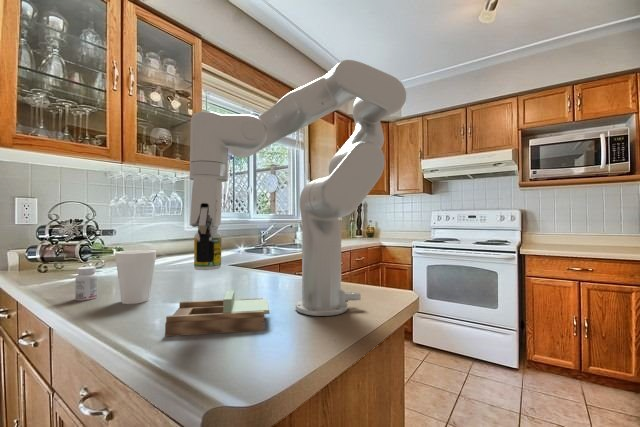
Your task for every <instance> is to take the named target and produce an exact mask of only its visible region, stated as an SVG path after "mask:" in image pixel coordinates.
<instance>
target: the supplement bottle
mask: <svg viewBox="0 0 640 427" xmlns="http://www.w3.org/2000/svg"><path fill="white" fill-rule="evenodd" d="M207 225H211V223H207ZM218 229H219V226H218V225H217V226H216V227H213V241H212V242H214V261H213V262H197V261H196V257H197V235H198V232H196V233H195V234H194V237H193V238H194V242H193V243H194V244H193V246H194V249H193V252H194V255H193V260H194V261H193V262H194V263H193V267H194V270H196V271H212V270H213V271H214V270H218V269H221V266H222V234H221V233H220V232H218ZM209 232H210V231H209Z"/></svg>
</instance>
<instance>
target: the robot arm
mask: <svg viewBox="0 0 640 427" xmlns="http://www.w3.org/2000/svg"><path fill="white" fill-rule="evenodd" d="M406 90H407V89H406V88H405V85H404V84H403V83H402V82H401V80H399V79H398V78H397V77H395V76H393V75H391V74H390V73H387V72H384V71H382V70H381V69H378V68H376V67H374V66H371V65H369V64H366V63H363V62H361V61H357V60H354V59H353V60H352V59H343V60H341V61H340V62H338V63H337V64H335V65H334V67H333V68H331V70H329V71H328V72H327V73H326V74H324V75H323V76H321V77H319V78H317V79H315V80H313V81H311V82H308V83H307V84H305V85H302V86H299V87H298V88H296V89H294V90H292V91H290V92H288V93H286V94H285V95H284V96H282V97H281V98H280V99H279V100H278V101H277V102H275V103H274V104H273V105H272V106H270V108H268V109H267V110H265V111H264V112H263V113H261V114H259V115H258V116H255V115H252V114H221V113H217V112H214V111H209V110H208V111H198V112H195V113H193V114H192V116H191V118H190V136H189V137H190V138H189V139H190V142H189V145H190V146H189V148H190V149H189V180H190V181H192V187H191V198H190V199H191V201H190V216H189V217H190V218H189V224H190V226H191V227H192V228H197V233H198V235H197V257H196V261H197V262H213V261H214V242H212V241H213V227H216V226H217V225H218V227H219V226H221V220H222V205H223V204H222V203H223V201H222V200H223V199H222V198H223V193H222V192H223V183H225V182H228V181H229V180H228V178H229V175H228V174H229V173H228V172H229V153H230V154H231V155H233V157H236V158H238V159H239V158H241V159H244V158H248V157H250V156H253V155H255V154H256V153H258V152H260V151H262V150H265V149H266V148H268V147H269V146H272V145H273V144H275V143H276V142H279V141H280V140H282V139H283V138H286V137H288V136H291V135H292V134H294V133H296V132H299V131H301V129H304V128H305V127H307V126H310V125H311V124H312V123H314V122H317V121H318V120H320V119H321V118H323V117H325V116H327V115H330V114H331V113H332V112H335V111H336V110H338V109H340V108H342V107H344V106H345V105H346V104H348V103H349V102H351V101H352V100H354V99H355V98H356V99H355V100H354V102H353V105H352V117H353V121H354V126H355V128H354V131H353V133H352V135H351V136H350V137H349V138H348V139H347V140H346V142H345V143H343V145H342V147H341V148H340V149H339V150H338V151H337V152H336V153H335V154H334V155H333V157H332V158H331V160H330V161H329V165H328V175H329V176H324V177H319V178H317V179H314V180H311V181H309V183H307V184H306V185H305V186H304V187H303V188H302V189H301V190H302V191H301V192H300V195H299V212H300V220H301V231H302V233H301V235H302V237H301V238H302V240H301V241H302V244H301V245H302V246H301V249H302V251H301V252H302V253H301V257H302V258H301V261H302V262H301V265H302V267H301V270H302V271H301V300H299V301H297V302H296V303H295V310H296V311H297V312H298V313H300V314H303V315H307V316H315V317H328V316H329V317H330V316H336V315H340V314H343V313H345V312H347V311H348V302H350V301H352V302H356V301H361V298H362V297H361V292H352V291H345V290H343V289H342V230H341V225H340V221H339V220H340V219H339V218H343V217H347V216H349V215H350V214H352V213H353V212H354V211H355V210H357V208H358V207H359V206H360V205H361V203H362V202H363V201H364V200H365V199H366V197H367V196H368V194H369V193H370V192H371V191H372V189H374V187H375V185H376V184H377V182H378V181H379V180H380V178H381V177H382V175H383V172H384V169H385V164H386V159H385V153H384V152H383V150H382V148H383V147H384V142H385V137H384V136H385V135H384V131H383V126H382V122H381V120H383V119H386V118H388V117H389V116H391V115H393V114H396V113H397V112H399V111H400V110H401V109H402V108H403V106H404V105H405V103H406V100H407V91H406ZM207 223H211V225H207ZM209 231H210V232H209Z"/></svg>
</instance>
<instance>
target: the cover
mask: <svg viewBox="0 0 640 427" xmlns="http://www.w3.org/2000/svg"><path fill="white" fill-rule="evenodd" d="M234 299H235V290H234V289H233V290H232V289H231V290H227V291H225V295H224V297H223V299H222V300H223V313H231V312H249V311H264V315H270V304H269V299H268V298H263V299H256V300H234Z"/></svg>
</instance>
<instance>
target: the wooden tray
mask: <svg viewBox="0 0 640 427" xmlns="http://www.w3.org/2000/svg"><path fill="white" fill-rule="evenodd" d="M256 299H264V298H263V297H260V298H257V297H256V298H254V297H253V298H237V299H236V298H234V300H256ZM164 324H165V325H164V326H165V329H164V332H165V334H164V337H177V335H178V336H191V334H195V335H207V334H221V333H222V334H224V333H237V332H239V333H241V332H250V331H251V332H252V331H264V330H265V314H264V311H249V312H231V313H223V299H213V300H212V299H211V300H194V301H193V300H191V301H180V302H179V307H178V308H177V310H176V311H175V312H174V313H173V314H172V315H166V317H165V323H164Z"/></svg>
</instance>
